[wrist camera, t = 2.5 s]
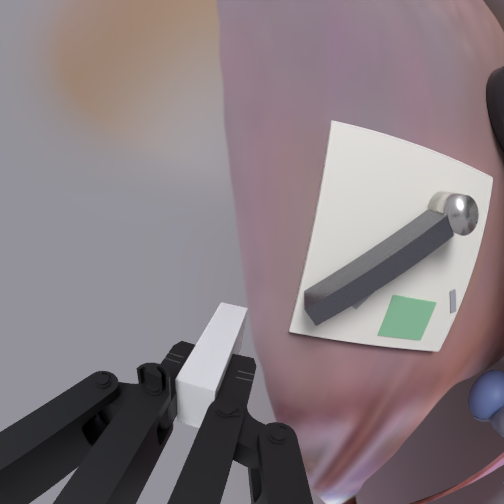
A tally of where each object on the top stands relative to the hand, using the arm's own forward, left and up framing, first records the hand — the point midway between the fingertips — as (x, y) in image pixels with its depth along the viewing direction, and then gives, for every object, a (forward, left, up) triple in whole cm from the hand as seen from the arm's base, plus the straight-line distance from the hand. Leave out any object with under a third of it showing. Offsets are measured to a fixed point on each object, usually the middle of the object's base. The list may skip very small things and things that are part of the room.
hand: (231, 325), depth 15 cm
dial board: (-14, -4, -14) cm, 20 cm away
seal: (-41, +15, -14) cm, 46 cm away
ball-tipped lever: (-12, -4, -12) cm, 18 cm away
